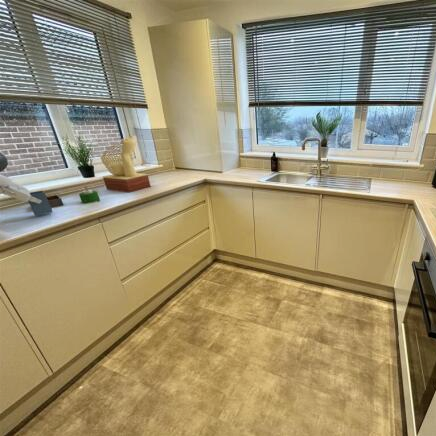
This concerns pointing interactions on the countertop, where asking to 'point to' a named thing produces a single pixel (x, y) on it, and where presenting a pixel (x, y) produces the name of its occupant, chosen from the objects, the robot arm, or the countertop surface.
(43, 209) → the grey rectangular block
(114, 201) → the countertop surface
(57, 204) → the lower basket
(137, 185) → the cream sculpture
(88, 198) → the candle
